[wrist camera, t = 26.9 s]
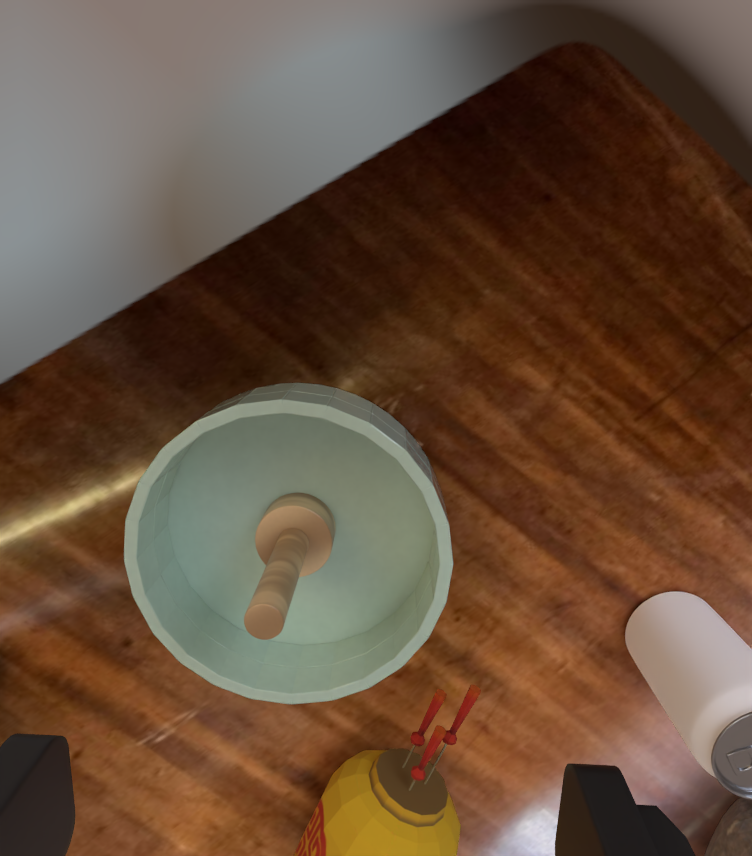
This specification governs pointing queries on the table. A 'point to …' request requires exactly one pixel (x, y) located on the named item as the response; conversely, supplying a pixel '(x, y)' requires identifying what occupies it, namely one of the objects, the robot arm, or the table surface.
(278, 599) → the wooden stamp
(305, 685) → the mixing bowl
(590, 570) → the table surface
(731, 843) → the bowl
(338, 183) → the table surface
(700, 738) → the can
